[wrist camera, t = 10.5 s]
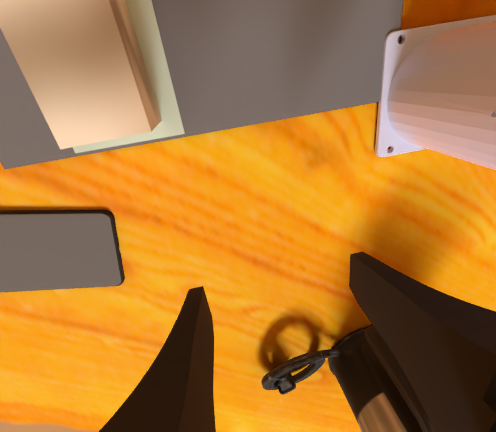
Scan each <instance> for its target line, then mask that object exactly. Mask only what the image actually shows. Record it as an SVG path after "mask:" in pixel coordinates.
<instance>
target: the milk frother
mask: <svg viewBox="0 0 496 432" xmlns="http://www.w3.org/2000/svg"><path fill="white" fill-rule="evenodd" d="M329 357H330V358H329ZM325 358H329V367H330V370H331V372H332V373H333V374H334V375H335V376H336V378H337V380H338V382H339V384H340V386H341V388H342V390H343V392H344V394H345V396H346V398H347V401H348V403H349V405H350V407H351V409H352V411H353V413H354V415H355V418H356V420H357V422H358V424H359V426H360V429H361V431H362V432H436V431H435V429H434V427H433V425H432V423H431V421H430V419H429V417H428V415H427V414H426V412H425V410H424V408H423V406H422V404H421V402H420V400H419V398H418V396H417V394H416V393H415V391H414V389H413V387H412V385H411V384H410V382H409V380H408V378H407V376H406V375H405V373H404V371H403V369H402V368H401V366H400V364H399V362H398V361H397V359H396V357H395V356H394V354H393V352H392V351H391V349H390V348H389V346H388V345H387V343H386V342H385V341H384V339H383V338H382V336H381V335H380V334H379V332H378V331H377V329H376V328H375V327H374V325H372V326H370V327H368V328H366V329H362V330H359V331H357V332H354V333H353V334H351V335H349V336H348V337H346V338H344V339H343V340H342V341H341V342H340V343H339V344H338V345H337V346H336V347H335V348H334V349H329V350H321V351H315V352H311V353H306V354H303V355H300V356H297V357H294V358H292V359H290V360H288V361H286V362H284V363H283V364H281V365H279V366H278V367H276V368H274V369H273V370H271V371H270V372H268V373H267V374H266V375H265V376H264V377H263V379H262V382H261V383H262V385H263V388H264V389H266V390H277V389H278V390H279V392H280V393H281V394H286V393H288V392H290V391H292V390H294V389H295V388H296V384H295V383H298V382H300V381H302V380H304V379H306V378H308V377H309V376H311V375H312V374H313V373H315V372H316V371H317V370H318V369H319V368H320V367H321V366H322V365H323V363H324V362H325ZM308 364H310V365H309V366H308V367H306V368H305V369H304V370H302V371H301V372H299V373H297V374H295V375H294V376H292V375H291V373H290V371H292V370H294V369H297V367H299V366H305V365H308Z"/></svg>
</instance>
